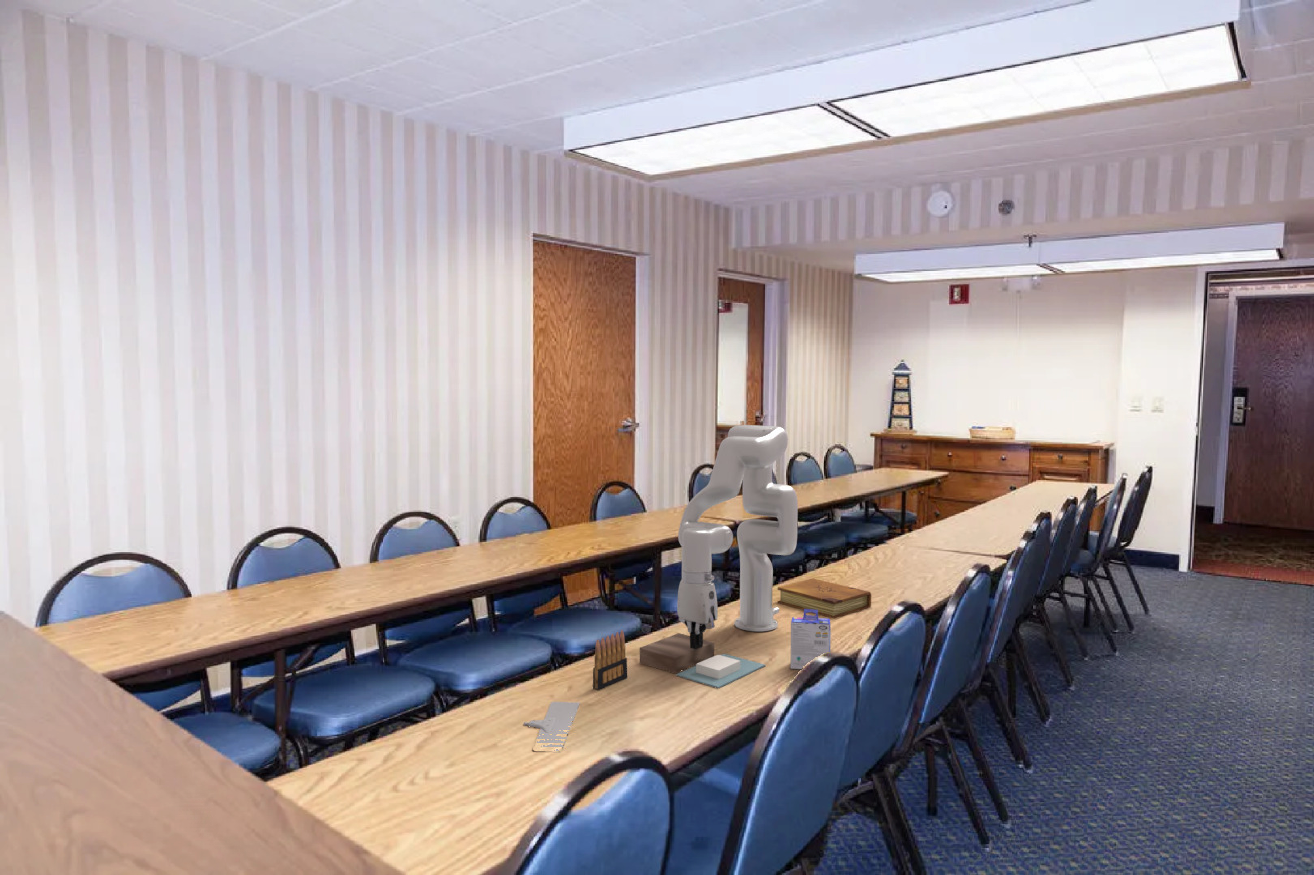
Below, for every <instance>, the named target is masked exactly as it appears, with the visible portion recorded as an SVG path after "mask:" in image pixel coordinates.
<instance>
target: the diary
mask: <svg viewBox="0 0 1314 875" xmlns="http://www.w3.org/2000/svg"><path fill="white" fill-rule="evenodd" d="M777 590H778V591H779V592H780V593H779V594H780V596H779V599H780V600H777V603H778V604H781V605H785V606H789V607H793V608H796V609H800V610H802V611H804V609H811V610H818V615H821V616H825V617H828V618H832V619H836V618H841V617H843V616H847V615H849V614H853V613H856V612H859V611H863V610H866V609H869V608H871V607H872V593H871V592H870V591H868V590H864V589H860V588H855V587H850V586H846V585H843V584H837V583H834V582H830V581H826V580H821V579H817V578H809V579H806V580H801V581H797V582H794V583H790V584H789V583H788V584H784V585H781V586H778V587H777Z"/></svg>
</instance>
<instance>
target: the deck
mask: <svg viewBox="0 0 1314 875" xmlns="http://www.w3.org/2000/svg"><path fill="white" fill-rule="evenodd" d="M714 656H715V641H710V640H707V639H703V646H702V647H701V648H698V649H696V650H695V649H692V648H690V635H688V634H684V633H679V632H678V633H676V634H673V635H670V636H667V637H664V638H662V639H659V640H657V641H654V642H651V643H648V644H646V645H642V646H640V647H639V664H642V665H646V666H648V667H651V666H653V667H652V668H655V669H658V668H659V669H658V670H661V669H662V670H661V671H665V670H667V671H666V672H668V671H670V672H669V673H671V672H673V673H672V674H675V673H676V674H678V673H680V671H681V670H683V671H685V670H687V668H688V669H689V667H690V668H692V667H694V666H696V664H697V663H699V662H702V661H704V660H706V659H709V658H711V657H714ZM691 666H692V667H691ZM681 672H682V671H681Z"/></svg>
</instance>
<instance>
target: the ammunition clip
mask: <svg viewBox="0 0 1314 875" xmlns="http://www.w3.org/2000/svg"><path fill="white" fill-rule="evenodd" d="M595 642H596V643H595V650H594V651H595V652H594V667H593V669H592V689H593V690H595V691H601V690H603V689H606V688H607V687H610V686H612V685H615V684H616V683H619V682H621V681H624V680H626V679H628V658H627V657H626V642H625V634H624V630H623V629H621V631H620V634H619V632H618V631H617V632H616V633H615V635H614V633H611V635H610V636H609V635H607V636H606V639H605V638H604V637H602V638H601V640H599V639H596V641H595Z"/></svg>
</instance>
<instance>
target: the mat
mask: <svg viewBox="0 0 1314 875" xmlns="http://www.w3.org/2000/svg"><path fill="white" fill-rule="evenodd" d="M720 655H721V656H725V657H729V658H732V659H736V660H739V661H740V670H738V671H736V672H733V673H731V674H729V675H727V676H725V677H722V678H720V679H716V678H713V677H710V676H706V675H703V674H700V673H696V665H695V666H692V667H690V668H688V669H685V670H683V671H681V672H678V673H676V674H675V676H676V675H677V676H676V677H678V676H680V677H679V678H682V677H683V678H682V679H685V680H688V679H690V680H689V681H692V680H693V681H692V682H695V683H698V684H701V683H704V684H703V685H705V684H706V686H708V685H709V686H708V687H712V688H715V687H716V689H718V688H719V689H720V687H721V688H723V687H725V686H727V685H730V684H731V683H733V682H735V681H738V680H739V679H743V678H744V677H746V676H748V675H751V673H754V672H757V671H758V670H760V669H762V668H764V667H766V664H765V663H761V662H756V661H755V660H749V659H745V658H742V657H738V656H735V655H731V654H727V653H722V654H720Z"/></svg>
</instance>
